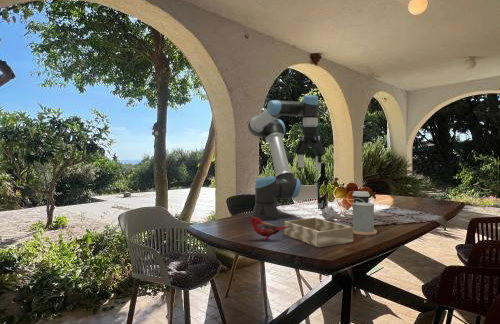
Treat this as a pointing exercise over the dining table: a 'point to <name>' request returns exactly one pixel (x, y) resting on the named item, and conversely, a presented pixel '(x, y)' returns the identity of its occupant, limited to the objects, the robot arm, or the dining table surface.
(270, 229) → the decorative bird figurine
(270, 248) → the dining table surface
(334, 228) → the pine crate
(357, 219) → the white upright block
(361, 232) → the terracotta tile
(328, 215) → the grey rock
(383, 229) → the dining table surface
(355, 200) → the coffee cup
